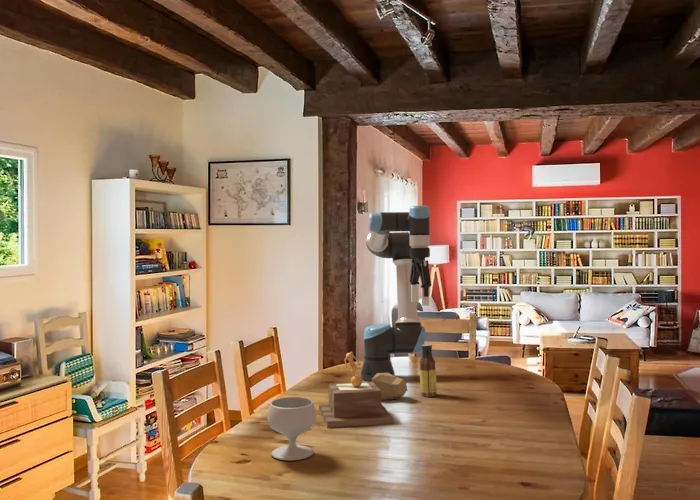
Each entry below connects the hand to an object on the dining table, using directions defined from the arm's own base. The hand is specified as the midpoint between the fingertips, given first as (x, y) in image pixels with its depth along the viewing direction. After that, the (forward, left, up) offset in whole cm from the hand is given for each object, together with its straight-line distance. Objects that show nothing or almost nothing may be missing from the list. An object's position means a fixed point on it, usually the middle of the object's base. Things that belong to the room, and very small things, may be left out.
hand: (420, 303), depth 231 cm
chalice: (+47, -52, -37) cm, 79 cm away
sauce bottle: (-7, +5, -37) cm, 38 cm away
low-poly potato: (-5, -11, -37) cm, 39 cm away
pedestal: (+14, -28, -37) cm, 48 cm away
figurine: (+14, -28, -27) cm, 41 cm away
